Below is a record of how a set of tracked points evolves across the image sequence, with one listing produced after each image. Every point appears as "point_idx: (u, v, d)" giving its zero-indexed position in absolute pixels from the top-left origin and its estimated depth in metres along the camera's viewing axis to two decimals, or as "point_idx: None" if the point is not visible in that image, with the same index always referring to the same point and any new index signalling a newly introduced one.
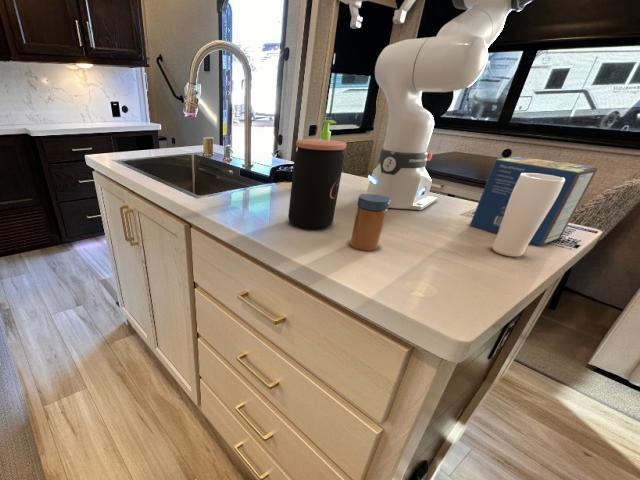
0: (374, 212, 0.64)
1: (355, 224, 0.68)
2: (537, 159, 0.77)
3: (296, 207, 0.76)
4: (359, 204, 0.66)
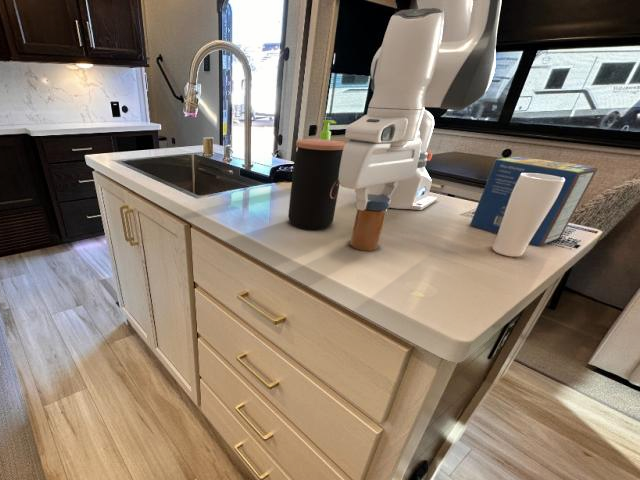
0: (374, 212, 0.64)
1: (355, 224, 0.68)
2: (537, 159, 0.77)
3: (296, 207, 0.76)
4: None
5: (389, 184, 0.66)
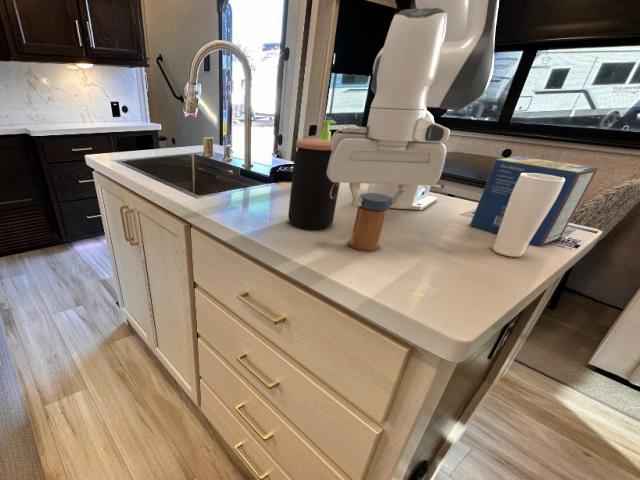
0: (374, 212, 0.64)
1: (355, 224, 0.68)
2: (537, 159, 0.77)
3: (296, 207, 0.76)
4: (389, 206, 0.65)
5: None
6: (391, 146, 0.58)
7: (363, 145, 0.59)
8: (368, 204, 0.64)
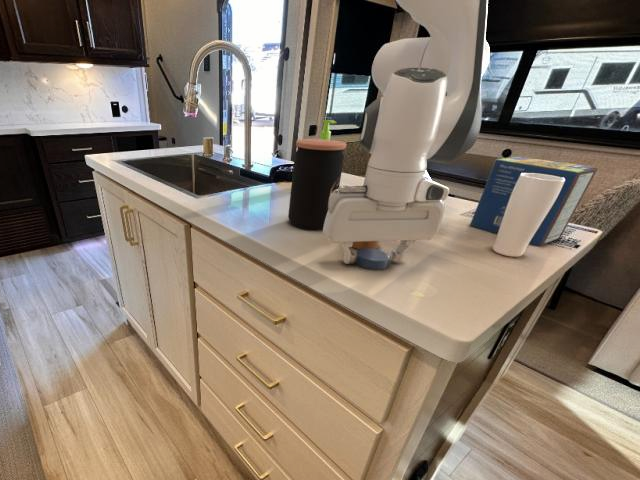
0: None
1: None
2: (537, 159, 0.77)
3: (296, 207, 0.76)
4: None
5: None
6: (392, 206, 0.55)
7: (363, 205, 0.55)
8: (366, 263, 0.61)
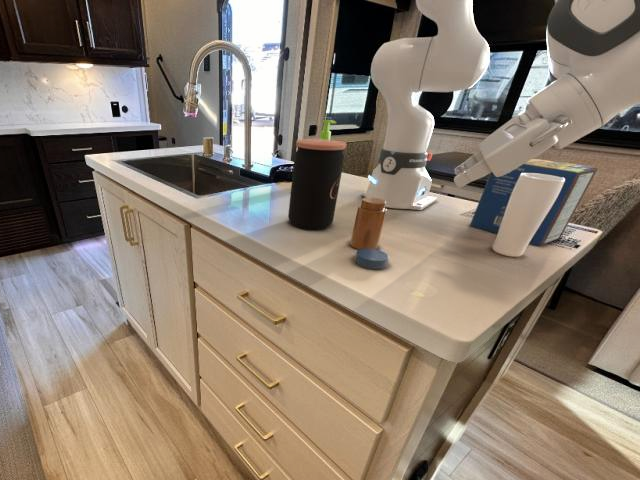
0: (374, 212, 0.64)
1: (355, 224, 0.68)
2: (537, 159, 0.77)
3: (296, 207, 0.76)
4: None
5: None
6: None
7: None
8: (366, 263, 0.61)
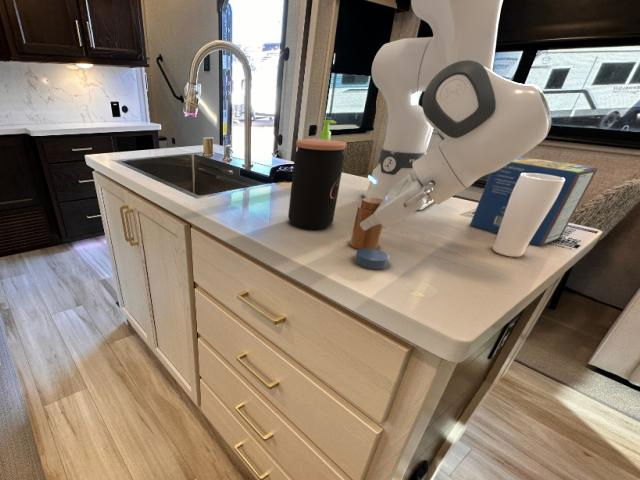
0: None
1: (355, 224, 0.68)
2: (537, 159, 0.77)
3: (296, 207, 0.76)
4: None
5: None
6: (429, 201, 0.61)
7: None
8: (366, 263, 0.61)
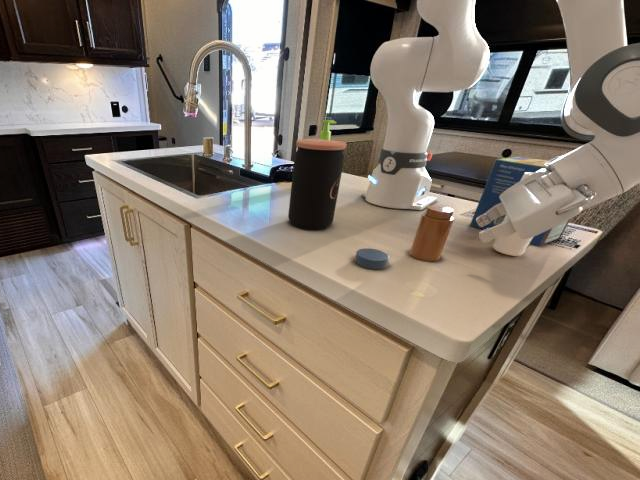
0: (442, 221, 0.61)
1: (418, 233, 0.64)
2: (537, 159, 0.77)
3: (296, 207, 0.76)
4: None
5: None
6: None
7: None
8: (366, 263, 0.61)
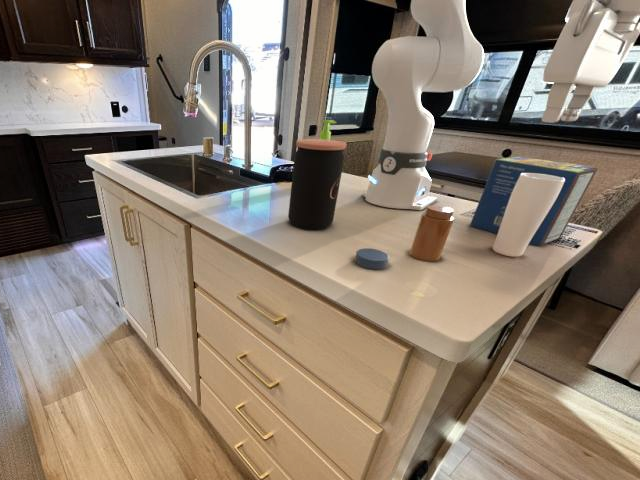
0: (442, 221, 0.61)
1: (418, 233, 0.64)
2: (537, 159, 0.77)
3: (296, 207, 0.76)
4: None
5: None
6: (633, 23, 0.43)
7: (612, 21, 0.41)
8: (366, 263, 0.61)
